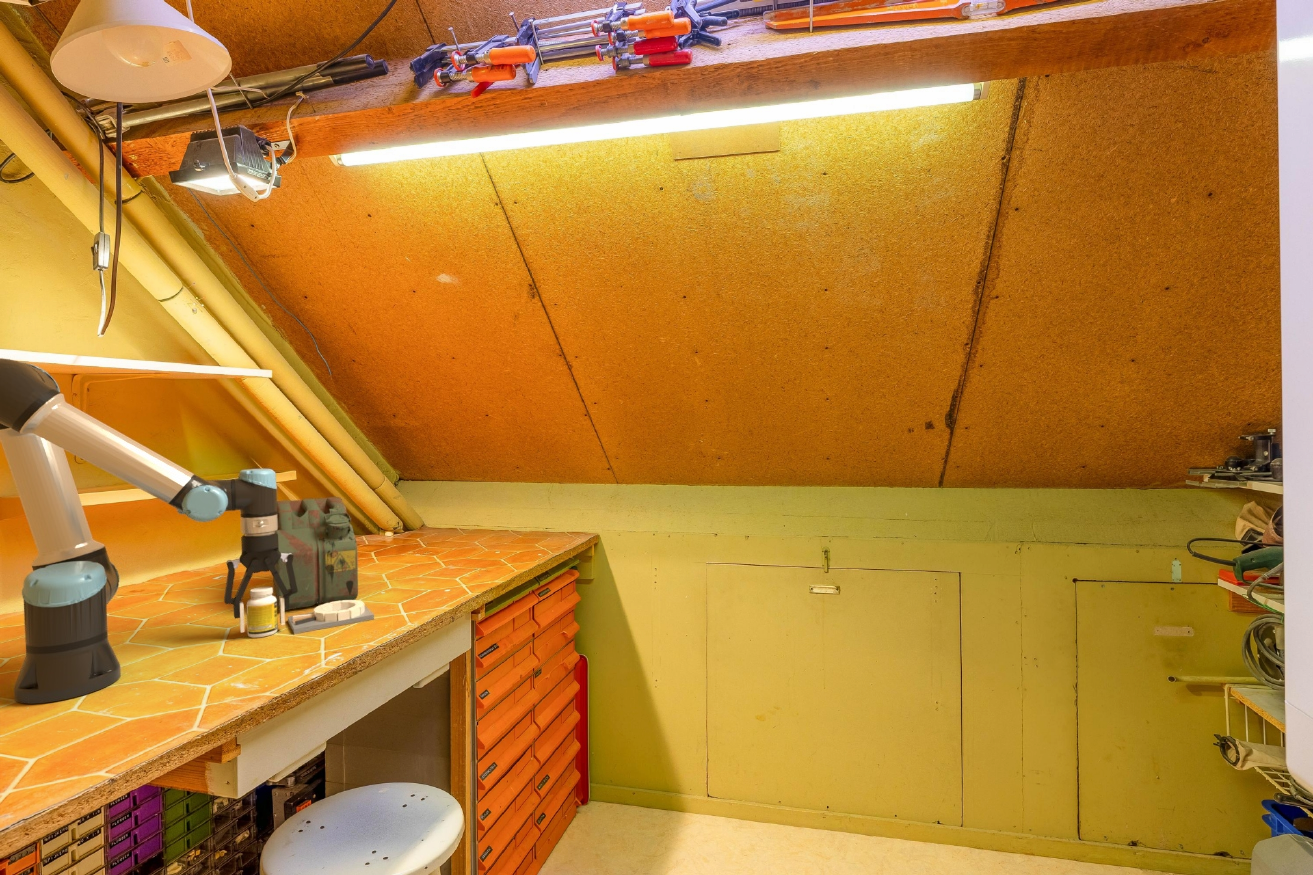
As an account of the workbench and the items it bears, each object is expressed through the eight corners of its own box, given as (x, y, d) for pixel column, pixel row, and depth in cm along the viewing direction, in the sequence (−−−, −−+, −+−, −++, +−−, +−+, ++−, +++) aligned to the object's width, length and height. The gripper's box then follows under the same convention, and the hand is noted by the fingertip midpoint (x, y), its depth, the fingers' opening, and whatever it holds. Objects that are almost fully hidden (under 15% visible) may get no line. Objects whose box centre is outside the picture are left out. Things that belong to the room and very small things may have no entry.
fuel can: (279, 615, 166) (276, 513, 165) (273, 586, 195) (270, 499, 194) (358, 603, 177) (356, 507, 176) (341, 577, 206) (339, 494, 205)
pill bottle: (281, 633, 152) (280, 588, 152) (251, 640, 147) (250, 593, 147) (273, 627, 156) (272, 583, 156) (244, 634, 152) (243, 588, 151)
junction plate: (294, 634, 151) (293, 620, 151) (287, 621, 161) (287, 609, 161) (374, 619, 162) (373, 606, 162) (363, 608, 172) (363, 596, 172)
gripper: (208, 540, 142) (211, 640, 143) (310, 530, 154) (312, 622, 155) (207, 536, 148) (210, 631, 149) (305, 526, 160) (308, 614, 161)
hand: (262, 626), depth 152 cm, fingers open, 8 cm apart
